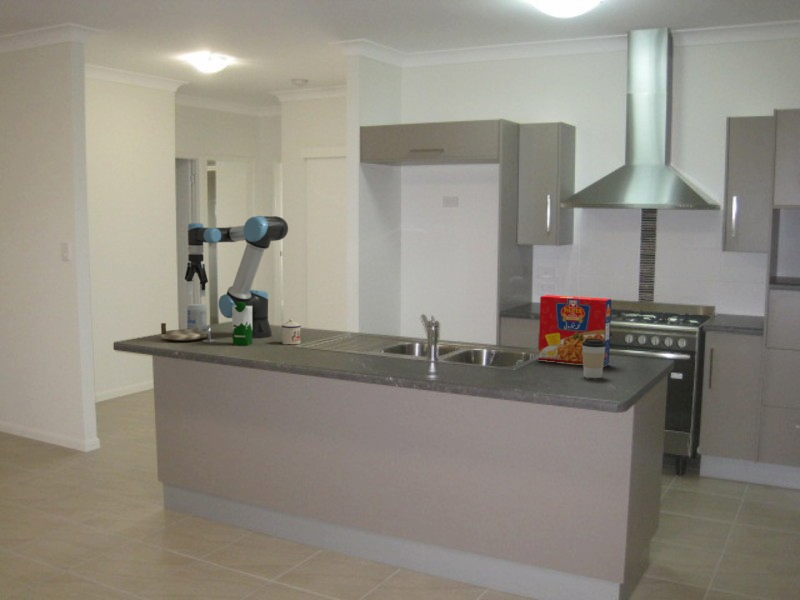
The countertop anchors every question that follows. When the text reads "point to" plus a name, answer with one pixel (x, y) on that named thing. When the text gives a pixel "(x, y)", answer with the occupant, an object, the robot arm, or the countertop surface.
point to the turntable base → (184, 340)
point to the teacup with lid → (291, 332)
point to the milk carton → (242, 324)
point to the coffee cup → (593, 357)
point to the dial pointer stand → (208, 335)
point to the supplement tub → (196, 316)
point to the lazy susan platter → (181, 333)
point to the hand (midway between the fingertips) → (196, 295)
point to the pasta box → (572, 326)
